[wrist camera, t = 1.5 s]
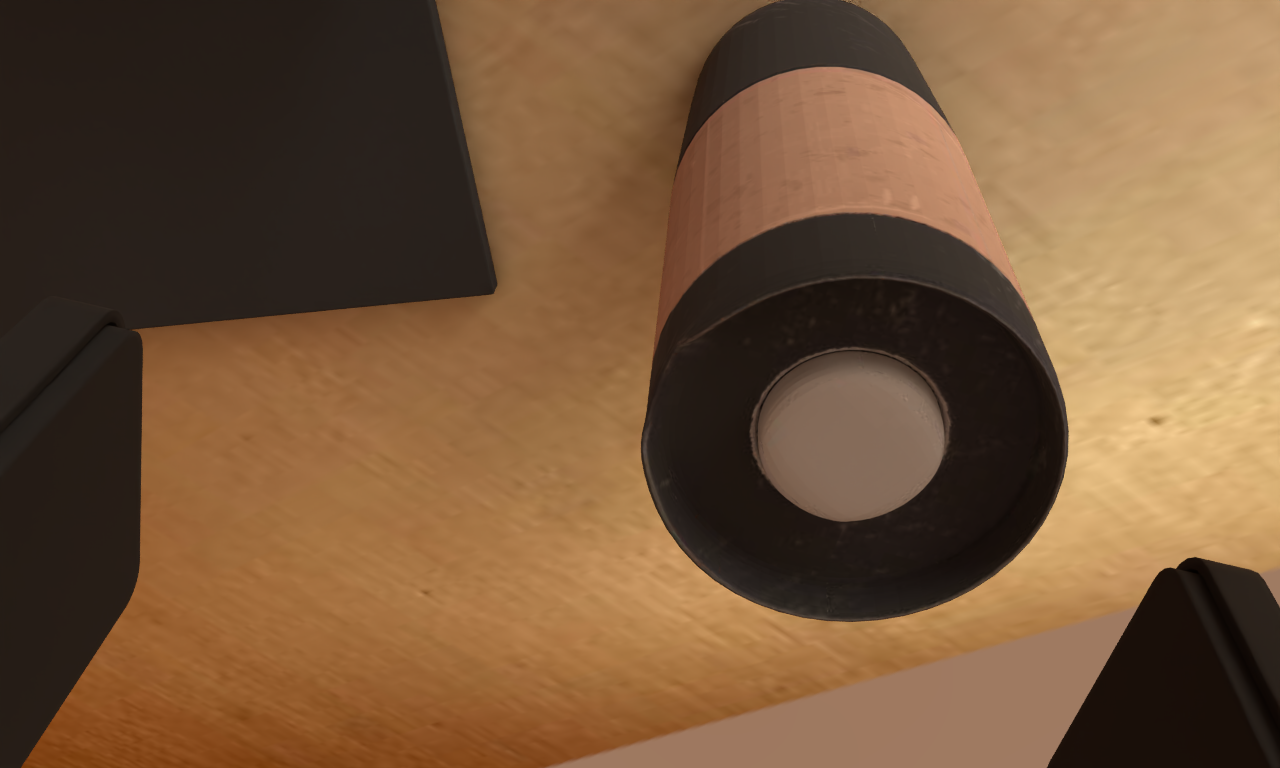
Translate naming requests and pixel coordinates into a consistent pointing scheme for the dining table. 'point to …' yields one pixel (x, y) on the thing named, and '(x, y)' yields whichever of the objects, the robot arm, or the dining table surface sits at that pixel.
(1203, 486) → the dining table surface
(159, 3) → the mat
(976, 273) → the travel mug
